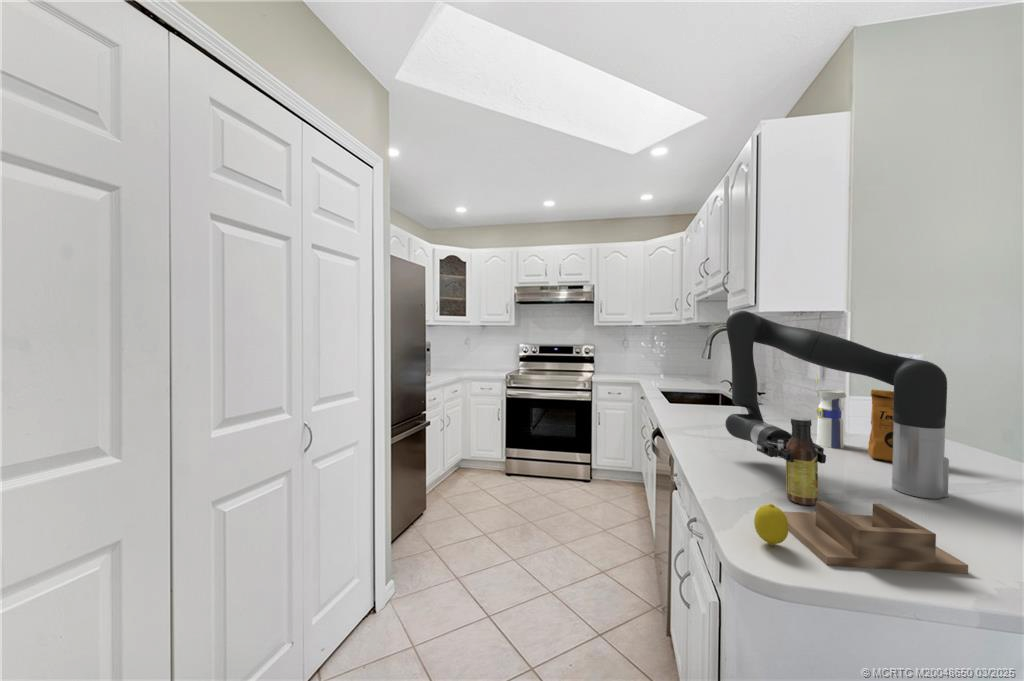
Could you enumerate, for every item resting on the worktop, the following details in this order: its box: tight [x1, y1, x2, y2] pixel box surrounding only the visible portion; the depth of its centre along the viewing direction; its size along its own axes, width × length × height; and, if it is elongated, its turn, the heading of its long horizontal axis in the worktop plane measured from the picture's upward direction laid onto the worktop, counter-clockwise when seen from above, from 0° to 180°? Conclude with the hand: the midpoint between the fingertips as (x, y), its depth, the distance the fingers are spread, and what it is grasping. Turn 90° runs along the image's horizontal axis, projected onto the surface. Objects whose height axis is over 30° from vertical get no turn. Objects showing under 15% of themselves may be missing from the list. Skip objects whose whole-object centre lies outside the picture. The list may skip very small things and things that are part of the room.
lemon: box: [753, 503, 789, 546], centre depth 78 cm, size 6×6×8 cm
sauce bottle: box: [785, 416, 819, 506], centre depth 98 cm, size 6×6×20 cm
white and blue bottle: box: [815, 373, 847, 449], centre depth 144 cm, size 8×9×25 cm
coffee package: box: [867, 388, 894, 463], centre depth 127 cm, size 10×12×22 cm
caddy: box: [782, 500, 969, 575], centre depth 79 cm, size 22×18×6 cm
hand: (807, 458), depth 95 cm, fingers closed on sauce bottle, 6 cm apart
